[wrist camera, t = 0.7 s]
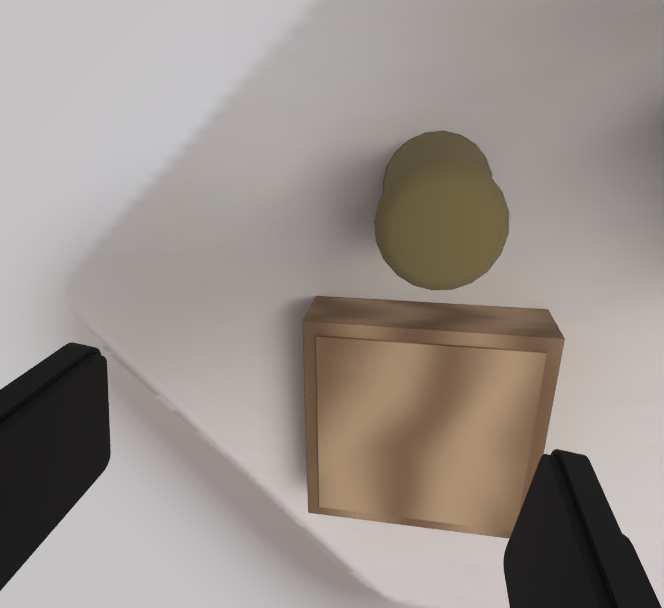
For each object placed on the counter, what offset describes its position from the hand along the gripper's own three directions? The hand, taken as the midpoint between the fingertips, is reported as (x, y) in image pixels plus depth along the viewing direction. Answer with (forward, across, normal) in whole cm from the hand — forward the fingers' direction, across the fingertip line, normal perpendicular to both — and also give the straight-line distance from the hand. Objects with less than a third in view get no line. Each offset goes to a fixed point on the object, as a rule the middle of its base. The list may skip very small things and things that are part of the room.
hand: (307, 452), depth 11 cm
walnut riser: (+21, -5, +11) cm, 24 cm away
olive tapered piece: (+21, -2, -3) cm, 22 cm away
